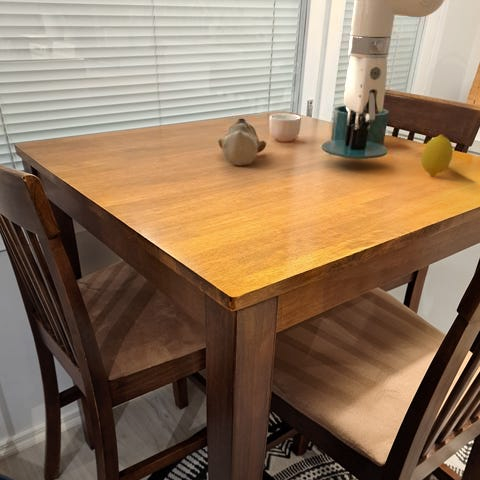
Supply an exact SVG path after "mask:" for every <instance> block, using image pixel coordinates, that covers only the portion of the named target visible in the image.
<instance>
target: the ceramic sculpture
mask: <svg viewBox="0 0 480 480" xmlns="http://www.w3.org/2000/svg"><path fill="white" fill-rule="evenodd" d="M217 141H218V142H217V143H218V145H219V147H220V149H221V151H222V154H223V157H224V158H225V161H226V162H228V163H229V164H231V165H234V166H238V167H239V166H240V167H241V166H246V165H250V164H251V163H253V162H254V160H255V158H256V156H257V154H259V153H261V152H263V151H264V150H265V149H266V146H267V142H266V141H265V140H260V139H259V136H258V134H257V132H256V129H255V128H254V127H253V125H251V124H250V123H248V121H247V120H246V119H245V118H241V117H240V118H239V119H237V121H236V122H234V123H233V124H232V125H230V127H229V128H228V130H227V132H226V134H225V135H224V138H220V139H219V140H217Z"/></svg>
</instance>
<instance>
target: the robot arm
mask: <svg viewBox="0 0 480 480" xmlns="http://www.w3.org/2000/svg"><path fill="white" fill-rule="evenodd" d="M444 1H445V0H354V2H353V8H352V10H353V11H352V18H351V24H350V25H351V27H350V33H349V41H348V42H349V43H348V51H347V56H348V57H349V61H348V66H347V70H346V71H347V72H346V78H345V82H344V83H345V84H344V91H343V106H346V110H347V112H348V113H347V114H348V117H347V129H346V137H345V145H346V146H349V142H350V135H351V127H352V124H355V129H353V130H352V137H351V145H350V149H352V150H363V149H365V148H366V142H367V136H368V130H369V128H370V123H371V122H372V121H374V120H375V113H376V114H379V113H381V112H382V109H384V104H385V103H384V102H385V94H386V88H387V87H386V86H387V76H388V75H387V73H388V57H389V52H390V46H391V40H392V33H393V27H394V21H395V16H402V17H409V18H424V17H427V16H430V15H431V14H433V13H435V12H436V11H437V10H438V9H439V8H440V7H441V6H442V5H443V3H444ZM364 110H367V112H363V111H364ZM362 116H365V117H362Z"/></svg>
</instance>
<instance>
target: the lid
mask: <svg viewBox="0 0 480 480" xmlns="http://www.w3.org/2000/svg"><path fill="white" fill-rule="evenodd" d="M353 129H355V124H352V127H351V135H350V142H349V146H346V145H345V140H333V141H331V140H328V141H326V142H323V143H322V144H321V149H322V151H323V152H325V153H326V154H329V155H332V156H335V157H340V158H344V159H351V160H367V159H377V158H382V157H384V156H387V154H388V152H389V149H388V148H387V147H386V146H385V145H384V144H383V145H380V144H377V143H374V142H369V141H367V142H366V148H365V149H363V150H352V149H350V145H351V137H352V130H353Z"/></svg>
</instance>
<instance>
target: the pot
mask: <svg viewBox="0 0 480 480" xmlns="http://www.w3.org/2000/svg"><path fill="white" fill-rule="evenodd" d="M363 112H367V110H364V111H363ZM347 113H348V112H347V110H346V106H345V105H339V106H337V107H334V109H333V118H332V127H331V136H330V141H333V140H345V137H346V129H347V117H348V114H347ZM389 113H390V112H389V110H388V109H386V108H383V109H382V112H381V113H379V114H376V113H375V120H374V121H372V122H371V123H370V128H369V130H368V136H367V141H369V142H374V143H377V144H380V145H383V146H384V143H385V138H386V131H387V125H388V120H389ZM362 117H365V116H362Z"/></svg>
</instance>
